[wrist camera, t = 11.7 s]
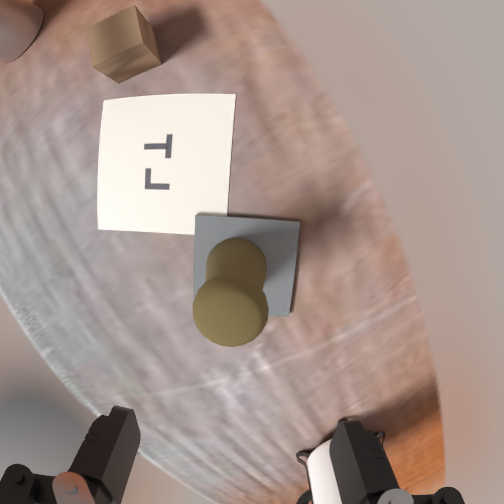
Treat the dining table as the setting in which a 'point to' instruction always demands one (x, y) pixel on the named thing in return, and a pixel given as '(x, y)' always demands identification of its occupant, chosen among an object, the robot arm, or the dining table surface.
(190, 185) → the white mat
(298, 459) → the coffee press
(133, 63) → the walnut block
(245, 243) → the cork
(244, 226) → the slate coaster
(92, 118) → the dining table surface
